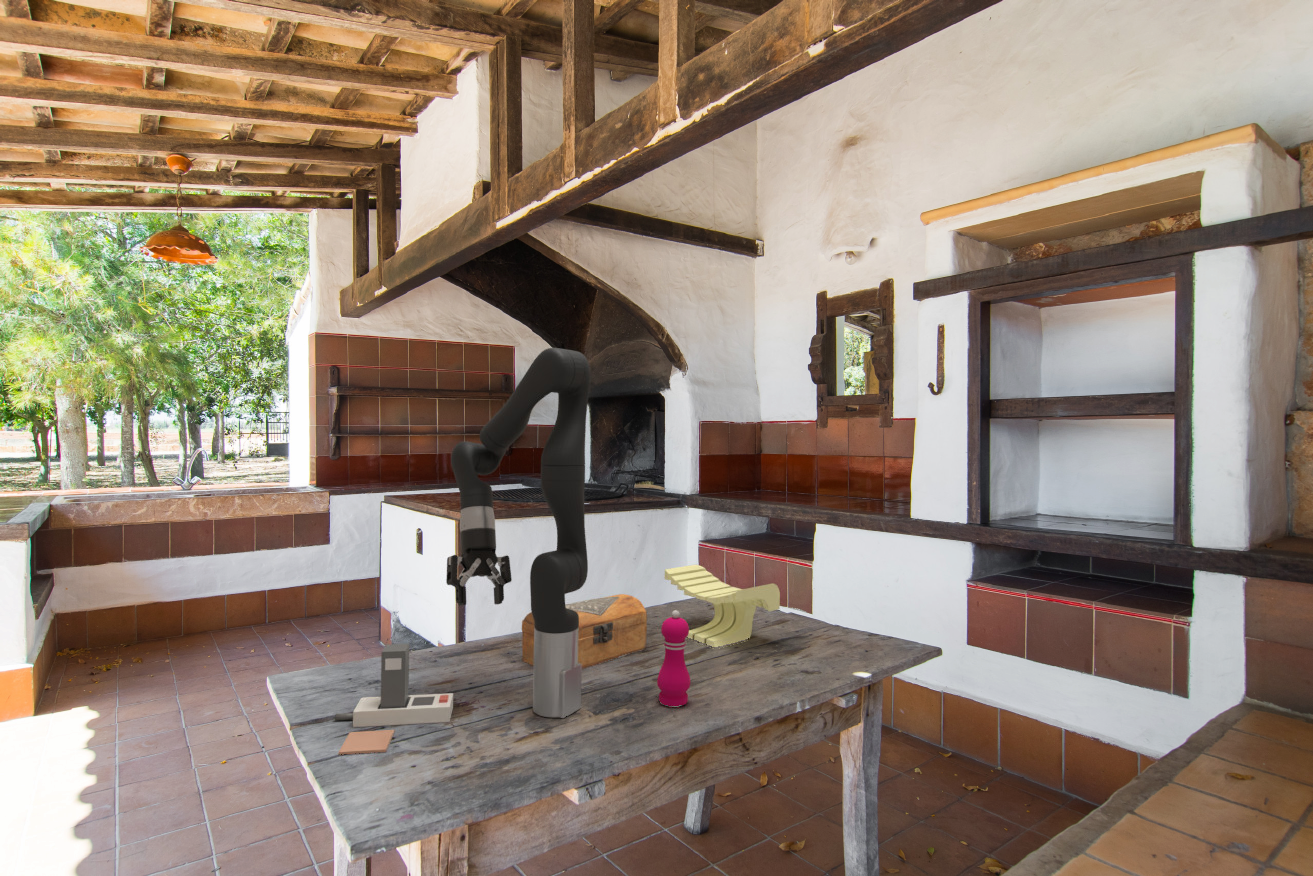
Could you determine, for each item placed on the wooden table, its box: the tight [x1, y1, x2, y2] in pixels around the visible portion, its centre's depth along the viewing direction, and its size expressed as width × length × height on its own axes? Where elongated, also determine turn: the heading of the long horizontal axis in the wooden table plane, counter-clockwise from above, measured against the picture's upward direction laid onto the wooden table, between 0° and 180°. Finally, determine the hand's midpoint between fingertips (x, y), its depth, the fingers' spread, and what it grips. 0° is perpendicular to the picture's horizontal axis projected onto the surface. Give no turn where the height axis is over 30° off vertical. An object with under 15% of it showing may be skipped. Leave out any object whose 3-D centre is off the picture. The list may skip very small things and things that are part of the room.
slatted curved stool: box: [664, 564, 781, 647], centre depth 195 cm, size 30×16×18 cm, turn 41°
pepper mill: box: [656, 609, 691, 706], centre depth 149 cm, size 7×7×20 cm
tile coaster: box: [338, 729, 395, 756], centre depth 127 cm, size 8×8×1 cm
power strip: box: [334, 692, 454, 728], centre depth 138 cm, size 22×7×4 cm, turn 101°
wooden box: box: [521, 593, 648, 670], centre depth 177 cm, size 30×16×14 cm, turn 134°
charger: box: [380, 643, 410, 709], centre depth 137 cm, size 4×5×12 cm
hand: (480, 604), depth 146 cm, fingers open, 8 cm apart
